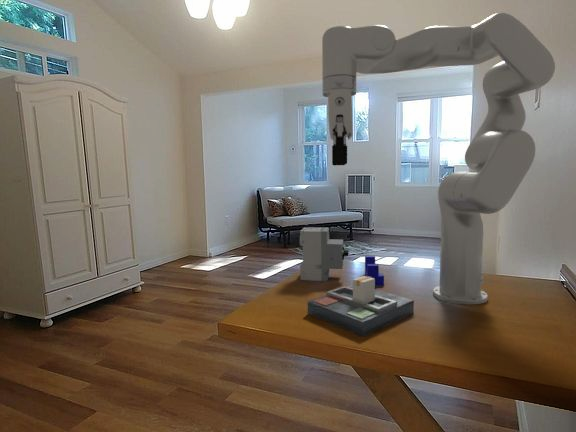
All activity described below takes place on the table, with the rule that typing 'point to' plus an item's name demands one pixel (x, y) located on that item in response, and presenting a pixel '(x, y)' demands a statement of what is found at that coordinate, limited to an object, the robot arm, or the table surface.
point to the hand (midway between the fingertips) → (339, 164)
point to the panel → (360, 310)
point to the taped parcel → (364, 289)
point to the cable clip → (373, 270)
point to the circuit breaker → (320, 254)
